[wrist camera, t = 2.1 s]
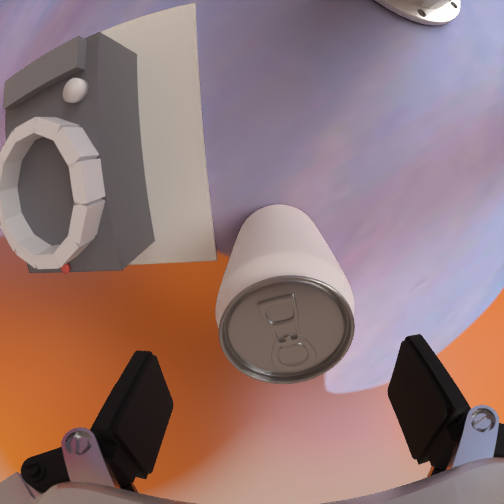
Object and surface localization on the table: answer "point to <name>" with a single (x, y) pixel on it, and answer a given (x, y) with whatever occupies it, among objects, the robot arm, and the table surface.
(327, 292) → the can
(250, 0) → the table surface
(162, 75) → the mat
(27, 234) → the camera body
